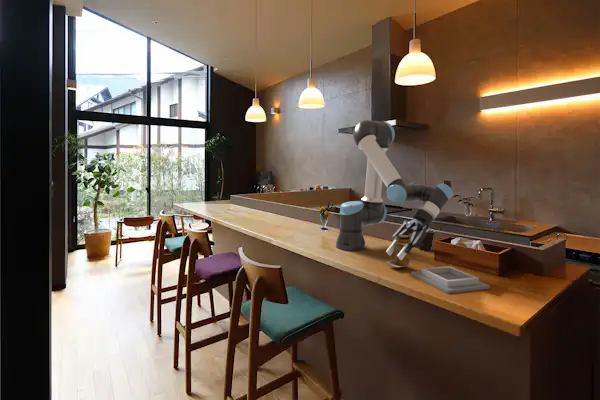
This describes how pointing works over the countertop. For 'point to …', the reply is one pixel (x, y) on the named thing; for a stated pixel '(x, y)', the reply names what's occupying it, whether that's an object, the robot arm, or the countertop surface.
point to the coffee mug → (427, 242)
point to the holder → (450, 279)
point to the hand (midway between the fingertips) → (393, 255)
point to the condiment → (399, 245)
